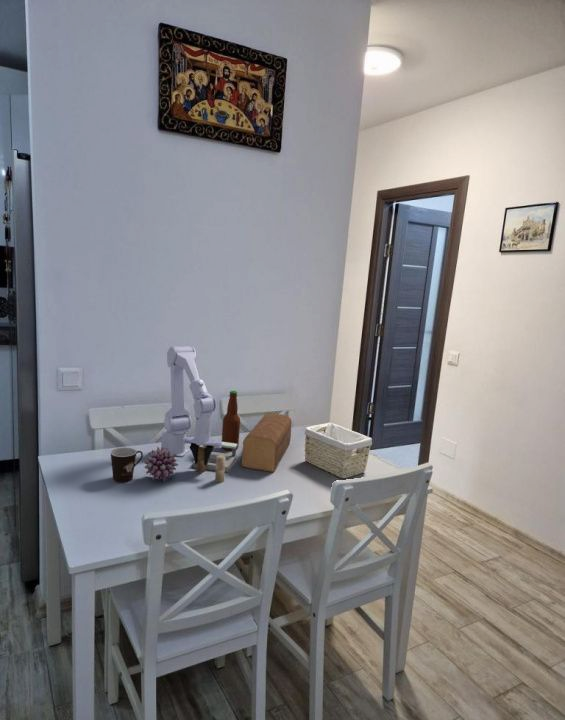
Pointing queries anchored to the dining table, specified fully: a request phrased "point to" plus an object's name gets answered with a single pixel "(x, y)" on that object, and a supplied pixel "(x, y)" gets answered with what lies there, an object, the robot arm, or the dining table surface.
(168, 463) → the spiky ball
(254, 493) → the dining table surface
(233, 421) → the bottle
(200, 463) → the walnut peg
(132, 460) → the coffee mug
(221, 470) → the maple peg
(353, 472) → the storage basket
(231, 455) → the socket board
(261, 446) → the bread
